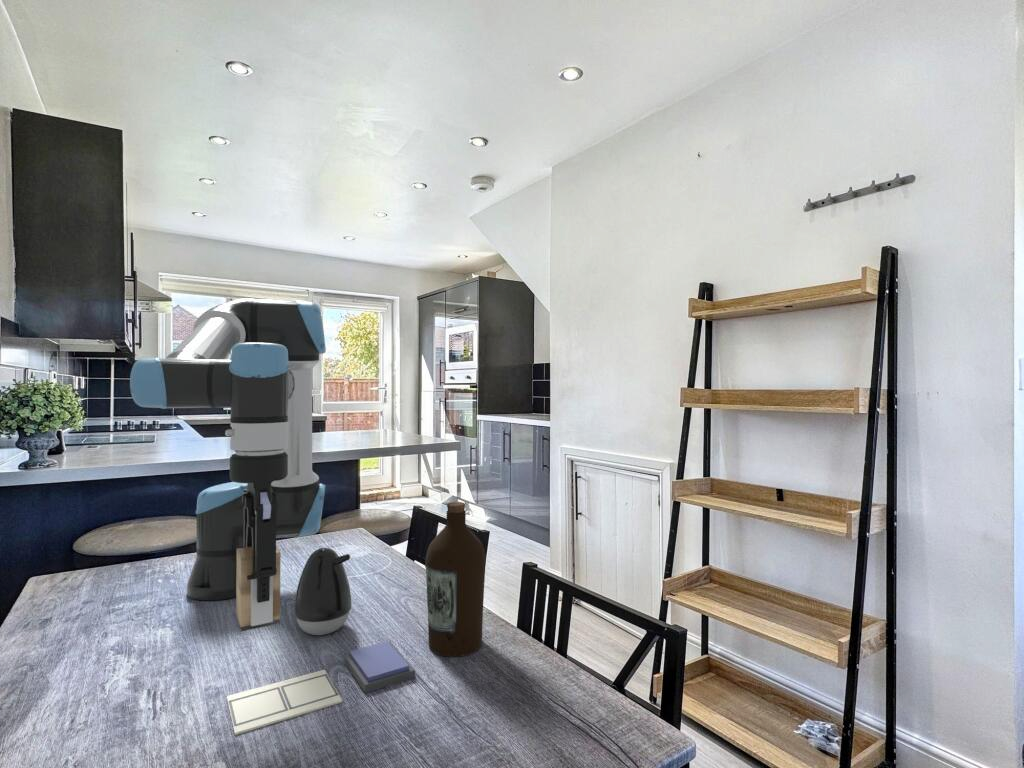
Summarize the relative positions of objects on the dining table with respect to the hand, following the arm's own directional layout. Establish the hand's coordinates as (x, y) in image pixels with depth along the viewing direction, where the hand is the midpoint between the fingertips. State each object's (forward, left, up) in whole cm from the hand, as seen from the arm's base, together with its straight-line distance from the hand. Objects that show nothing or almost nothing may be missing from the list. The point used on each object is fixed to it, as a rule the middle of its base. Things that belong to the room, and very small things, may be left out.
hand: (258, 615), depth 78 cm
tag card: (0, +4, -13) cm, 14 cm away
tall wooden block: (0, 0, -1) cm, 1 cm away
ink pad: (-1, +18, -13) cm, 22 cm away
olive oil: (-2, +32, -13) cm, 35 cm away
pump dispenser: (-21, +14, -13) cm, 28 cm away
